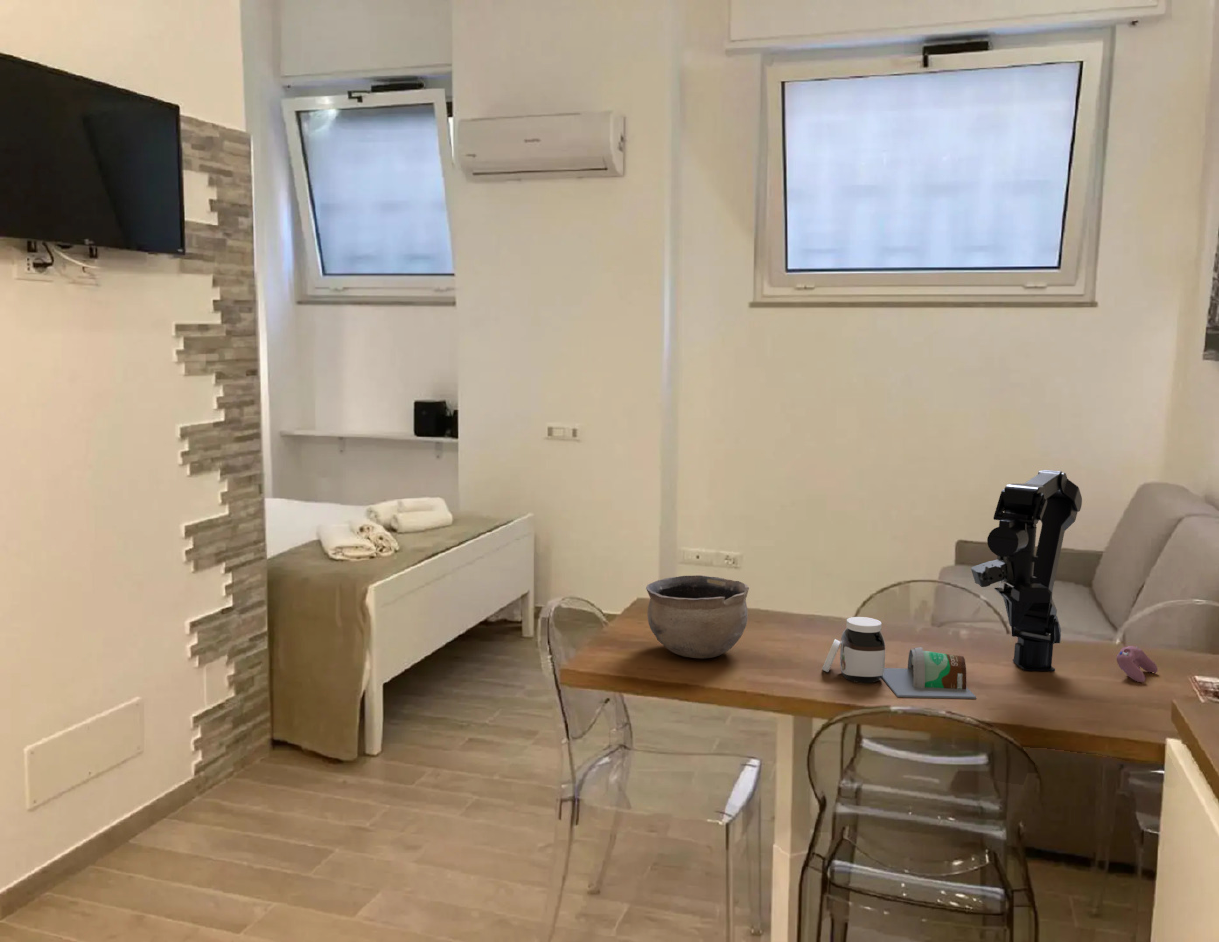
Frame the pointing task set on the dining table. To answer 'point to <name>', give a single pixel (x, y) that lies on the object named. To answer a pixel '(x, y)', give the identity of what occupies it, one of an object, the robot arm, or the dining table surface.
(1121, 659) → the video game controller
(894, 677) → the mat
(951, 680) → the food container
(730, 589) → the ceramic bowl
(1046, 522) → the robot arm
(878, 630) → the spread jar
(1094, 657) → the dining table surface
